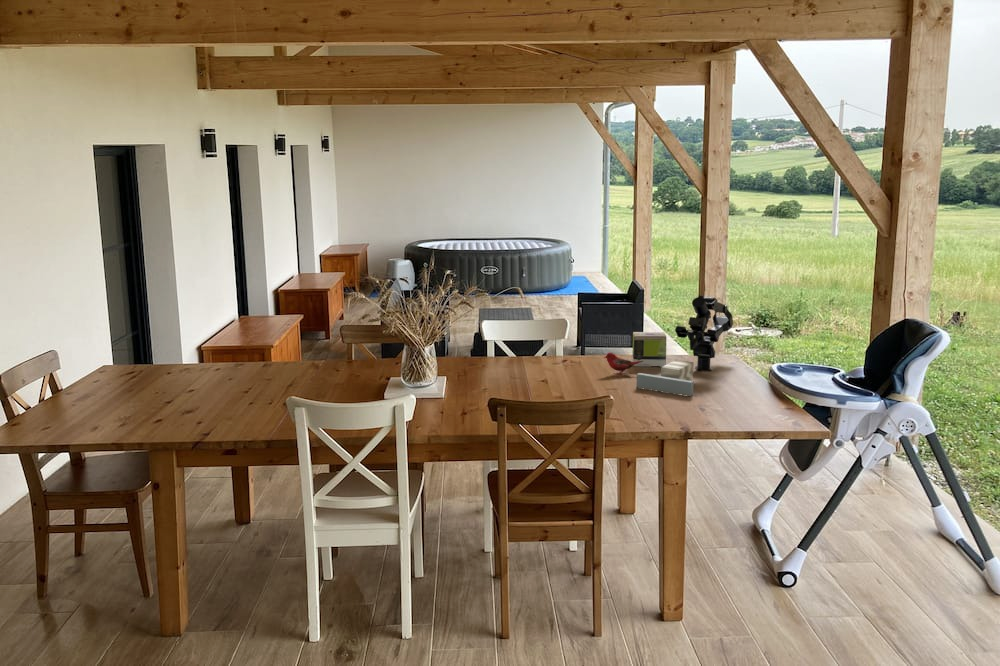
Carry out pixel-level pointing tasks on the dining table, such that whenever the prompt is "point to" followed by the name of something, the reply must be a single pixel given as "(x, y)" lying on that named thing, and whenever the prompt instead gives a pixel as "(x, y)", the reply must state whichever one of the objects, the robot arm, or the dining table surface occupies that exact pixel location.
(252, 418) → the dining table surface
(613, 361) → the decorative bird figurine
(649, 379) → the board
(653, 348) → the tea box
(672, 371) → the block
